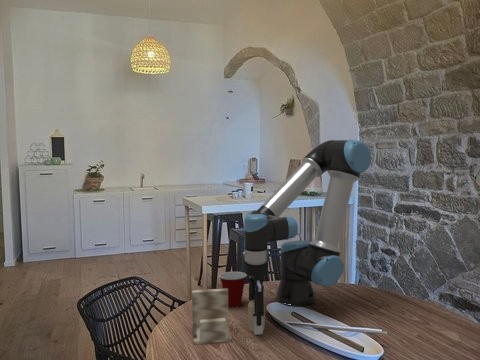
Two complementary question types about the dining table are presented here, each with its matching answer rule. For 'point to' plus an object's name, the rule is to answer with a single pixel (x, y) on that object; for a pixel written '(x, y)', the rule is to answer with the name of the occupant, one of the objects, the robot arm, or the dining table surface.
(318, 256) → the robot arm
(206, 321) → the beige u-shaped bracket
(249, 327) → the candle
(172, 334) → the dining table surface
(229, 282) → the plastic cup
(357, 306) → the dining table surface
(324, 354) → the dining table surface
